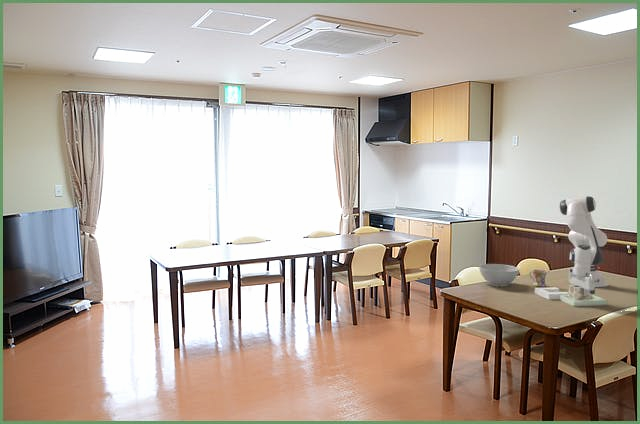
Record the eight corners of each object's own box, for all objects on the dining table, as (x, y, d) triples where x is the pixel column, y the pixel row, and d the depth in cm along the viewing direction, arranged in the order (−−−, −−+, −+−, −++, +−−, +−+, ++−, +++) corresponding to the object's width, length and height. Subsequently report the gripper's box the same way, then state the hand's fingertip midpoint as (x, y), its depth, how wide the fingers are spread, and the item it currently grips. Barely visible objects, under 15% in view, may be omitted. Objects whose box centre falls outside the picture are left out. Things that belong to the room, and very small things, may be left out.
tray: (591, 299, 325) (592, 294, 325) (607, 305, 312) (607, 300, 311) (559, 300, 322) (560, 295, 322) (573, 306, 308) (574, 301, 308)
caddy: (590, 297, 321) (591, 284, 320) (597, 299, 315) (597, 287, 314) (568, 297, 319) (569, 285, 318) (574, 300, 313) (575, 287, 312)
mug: (548, 286, 358) (549, 271, 357) (542, 288, 352) (543, 273, 351) (531, 283, 367) (532, 268, 366) (525, 285, 361) (526, 270, 360)
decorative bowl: (470, 281, 370) (471, 265, 368) (500, 279, 379) (501, 262, 378) (495, 290, 345) (496, 272, 344) (527, 287, 354) (528, 270, 353)
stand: (555, 292, 341) (555, 287, 341) (570, 298, 325) (570, 293, 325) (534, 293, 339) (534, 287, 339) (548, 299, 323) (548, 294, 323)
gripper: (598, 275, 305) (596, 298, 306) (576, 268, 325) (575, 289, 327) (588, 275, 304) (587, 298, 306) (567, 268, 324) (565, 290, 326)
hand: (580, 294), depth 316 cm, fingers closed on caddy, 6 cm apart
